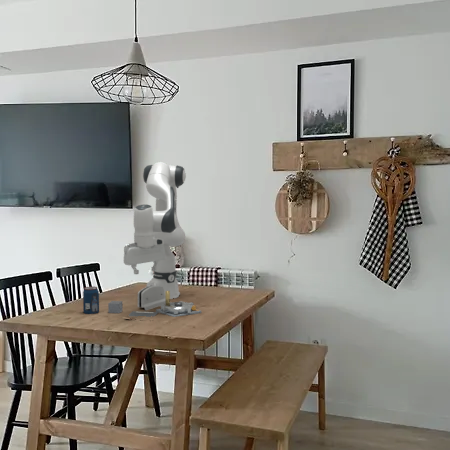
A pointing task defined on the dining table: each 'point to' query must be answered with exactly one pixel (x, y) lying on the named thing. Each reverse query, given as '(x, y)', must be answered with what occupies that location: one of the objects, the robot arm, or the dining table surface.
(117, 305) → the link block
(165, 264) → the robot arm
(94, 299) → the soda can
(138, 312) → the pad
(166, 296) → the sprocket
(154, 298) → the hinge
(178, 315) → the sprocket base
